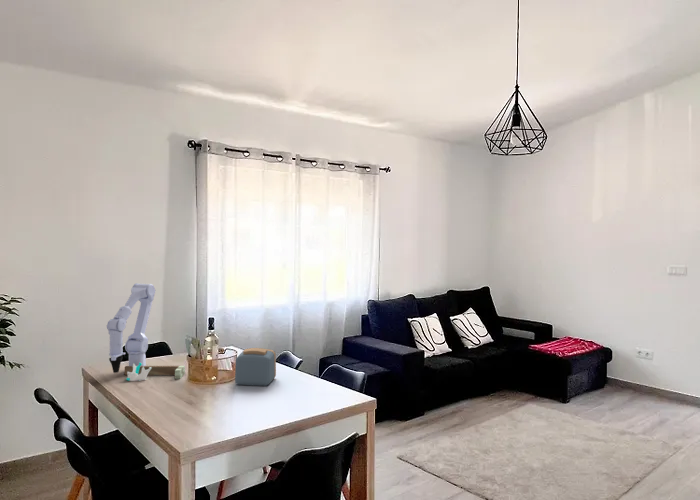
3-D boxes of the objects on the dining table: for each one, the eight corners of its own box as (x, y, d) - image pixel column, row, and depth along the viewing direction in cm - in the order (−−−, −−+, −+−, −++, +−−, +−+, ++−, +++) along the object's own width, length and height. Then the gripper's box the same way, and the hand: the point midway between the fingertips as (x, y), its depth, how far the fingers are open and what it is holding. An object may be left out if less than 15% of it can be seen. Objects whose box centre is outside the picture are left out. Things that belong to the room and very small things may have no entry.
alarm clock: (276, 377, 260) (277, 345, 260) (268, 387, 244) (268, 352, 243) (244, 376, 262) (244, 344, 261) (233, 385, 245) (233, 351, 245)
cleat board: (125, 374, 264) (125, 366, 264) (184, 373, 266) (184, 365, 266) (118, 379, 254) (119, 370, 254) (180, 378, 256) (180, 370, 256)
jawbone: (119, 377, 255) (126, 358, 257) (134, 381, 260) (141, 362, 263) (131, 381, 247) (138, 362, 249) (146, 385, 252) (153, 366, 255)
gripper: (122, 346, 250) (122, 375, 250) (127, 340, 264) (127, 368, 264) (106, 347, 248) (106, 376, 248) (112, 341, 262) (111, 369, 262)
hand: (116, 372), depth 256 cm, fingers closed
